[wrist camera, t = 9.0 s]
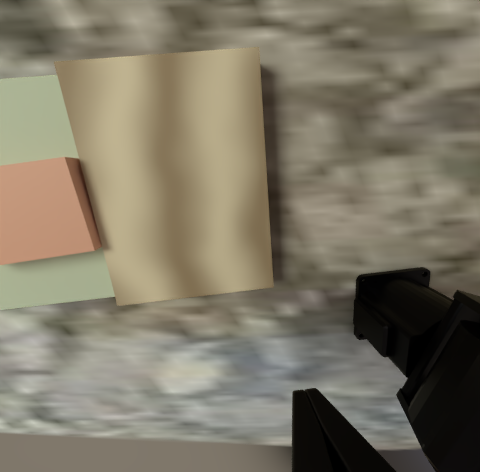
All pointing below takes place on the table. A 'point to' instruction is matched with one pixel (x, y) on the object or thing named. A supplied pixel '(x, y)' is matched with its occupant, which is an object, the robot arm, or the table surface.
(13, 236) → the coral tile
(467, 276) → the table surface
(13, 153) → the sage mat
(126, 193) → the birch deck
